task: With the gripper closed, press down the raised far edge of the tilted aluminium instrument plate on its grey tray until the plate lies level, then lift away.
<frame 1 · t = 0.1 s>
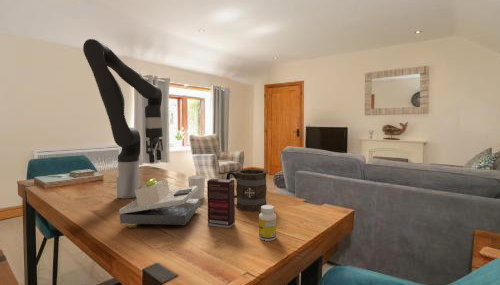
hand: (155, 161, 130), 17 cm above the table, tool pointing down, fingers open, 8 cm apart
supplement box: (221, 225, 95), on the table
white cup: (196, 197, 130), on the table
grey tray: (163, 219, 100), on the table
supplement bottle: (267, 238, 85), on the table
mug: (245, 205, 118), on the table
instrument plate: (160, 189, 100), point 11 cm above the table, hinge at 10.0°
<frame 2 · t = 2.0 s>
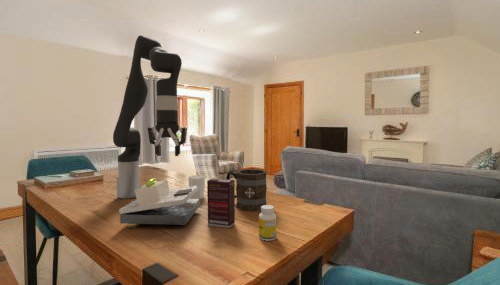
hand: (168, 155, 99), 24 cm above the table, tool pointing down, fingers open, 6 cm apart
nothing on the table moved.
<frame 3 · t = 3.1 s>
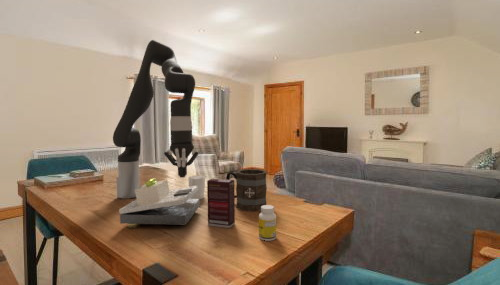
hand: (182, 177, 99), 16 cm above the table, tool pointing down, fingers closed
nothing on the table moved.
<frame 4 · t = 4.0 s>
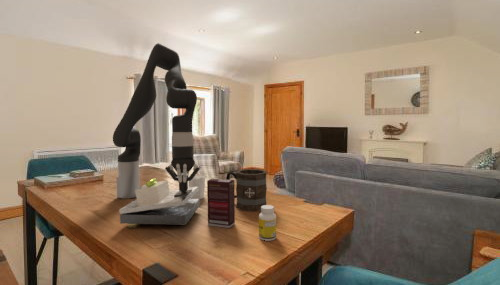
hand: (183, 191, 99), 10 cm above the table, tool pointing down, fingers closed
instrument plate: (161, 189, 100), point 11 cm above the table, hinge at 9.0°, touching gripper
everything else where it was.
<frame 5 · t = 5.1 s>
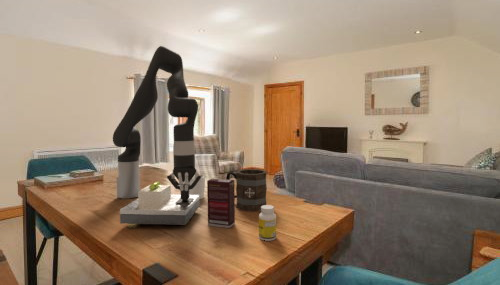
hand: (185, 200, 100), 7 cm above the table, tool pointing down, fingers closed
instrument plate: (163, 194, 100), point 9 cm above the table, hinge at -0.1°, touching gripper
everything else where it was.
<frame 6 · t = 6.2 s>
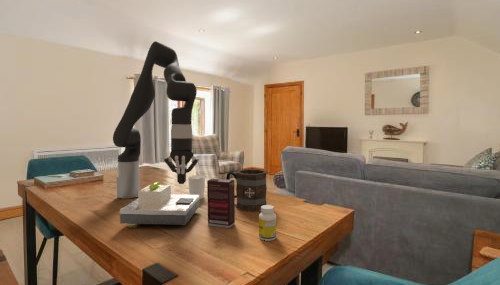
hand: (181, 183, 101), 13 cm above the table, tool pointing down, fingers closed
instrument plate: (163, 194, 100), point 9 cm above the table, hinge at -0.1°
everything else where it was.
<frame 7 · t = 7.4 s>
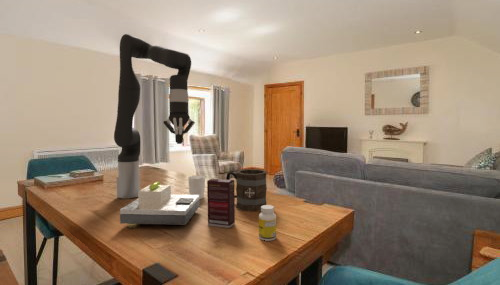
hand: (179, 143, 112), 27 cm above the table, tool pointing down, fingers closed
nothing on the table moved.
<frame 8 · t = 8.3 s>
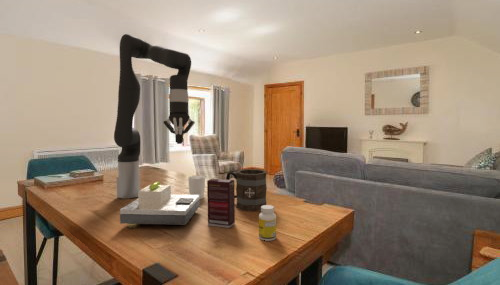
hand: (179, 143, 112), 27 cm above the table, tool pointing down, fingers closed
nothing on the table moved.
at the end: instrument plate at +0° (first picture: +10°); supplement box moved 0.2 cm from its start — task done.
